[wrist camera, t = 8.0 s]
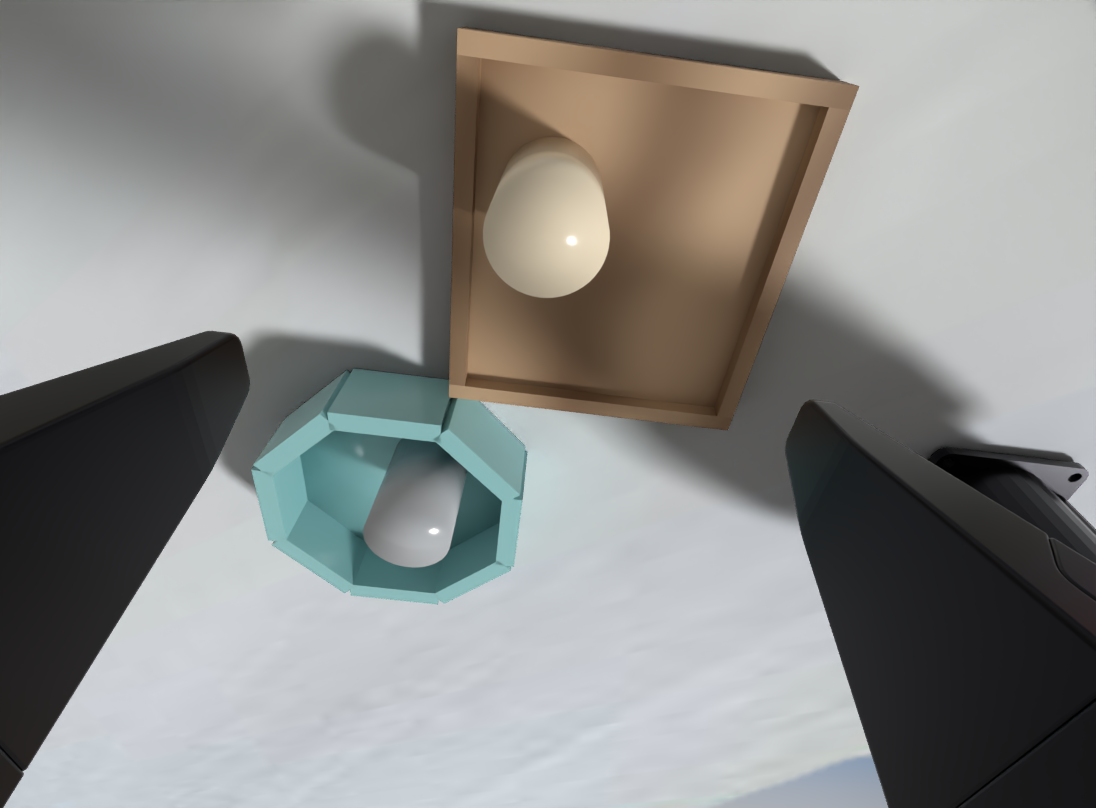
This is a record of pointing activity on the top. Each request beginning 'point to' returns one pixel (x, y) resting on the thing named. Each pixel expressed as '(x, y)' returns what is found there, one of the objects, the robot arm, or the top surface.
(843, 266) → the top surface
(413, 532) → the grey rounded cylinder
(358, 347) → the top surface
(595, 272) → the sand beige cylinder
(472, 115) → the parts tray
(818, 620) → the top surface
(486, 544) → the bowl
